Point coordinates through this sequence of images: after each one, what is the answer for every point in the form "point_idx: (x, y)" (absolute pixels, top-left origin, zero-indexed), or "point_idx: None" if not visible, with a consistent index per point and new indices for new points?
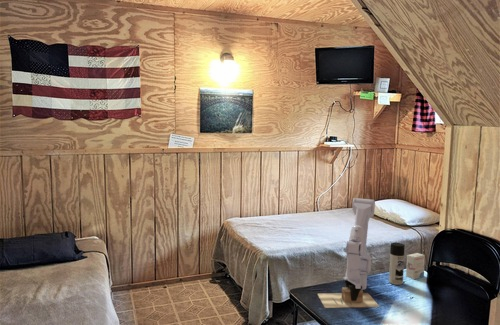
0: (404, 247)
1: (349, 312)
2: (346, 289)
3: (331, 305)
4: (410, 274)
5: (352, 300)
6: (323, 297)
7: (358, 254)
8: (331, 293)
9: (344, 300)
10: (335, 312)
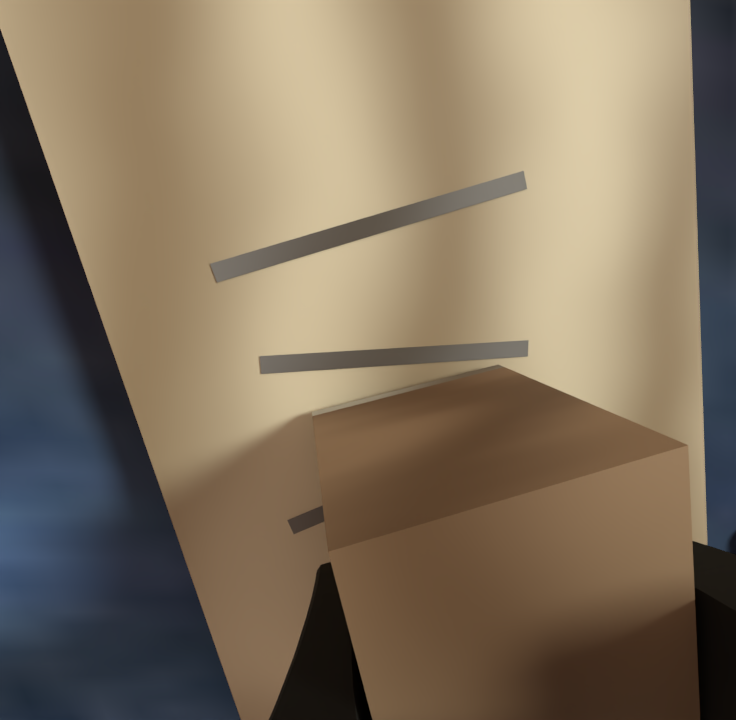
0: None
1: (109, 459)
2: (524, 591)
3: (141, 126)
4: None
5: (316, 580)
6: None
7: None
8: (689, 192)
9: (328, 420)
10: (28, 216)
